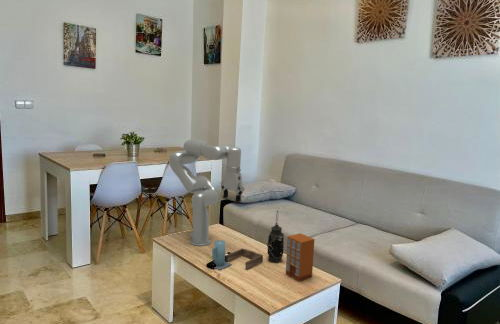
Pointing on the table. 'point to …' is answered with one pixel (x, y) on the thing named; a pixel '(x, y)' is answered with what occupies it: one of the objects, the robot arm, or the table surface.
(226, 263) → the coaster
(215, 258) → the jug
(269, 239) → the lantern
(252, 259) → the brown u-shaped frame
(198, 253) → the table surface
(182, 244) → the table surface
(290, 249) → the miniature building
